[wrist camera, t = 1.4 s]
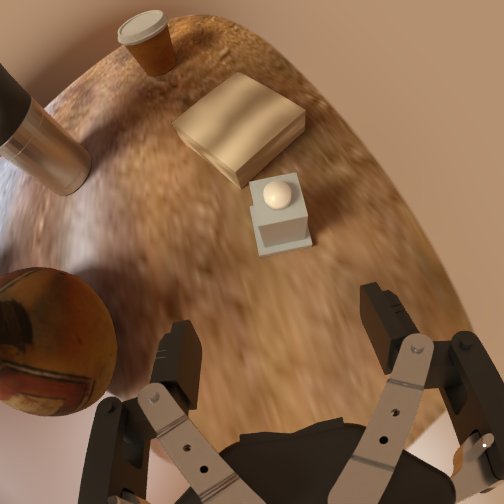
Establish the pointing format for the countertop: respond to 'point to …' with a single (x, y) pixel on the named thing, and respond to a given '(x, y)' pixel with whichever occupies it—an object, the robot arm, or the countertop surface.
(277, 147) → the birch block
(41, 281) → the ceramic pitcher
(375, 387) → the countertop surface
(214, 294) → the countertop surface
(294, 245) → the grey box with knob
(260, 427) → the countertop surface
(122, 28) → the disposable coffee cup
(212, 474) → the robot arm
